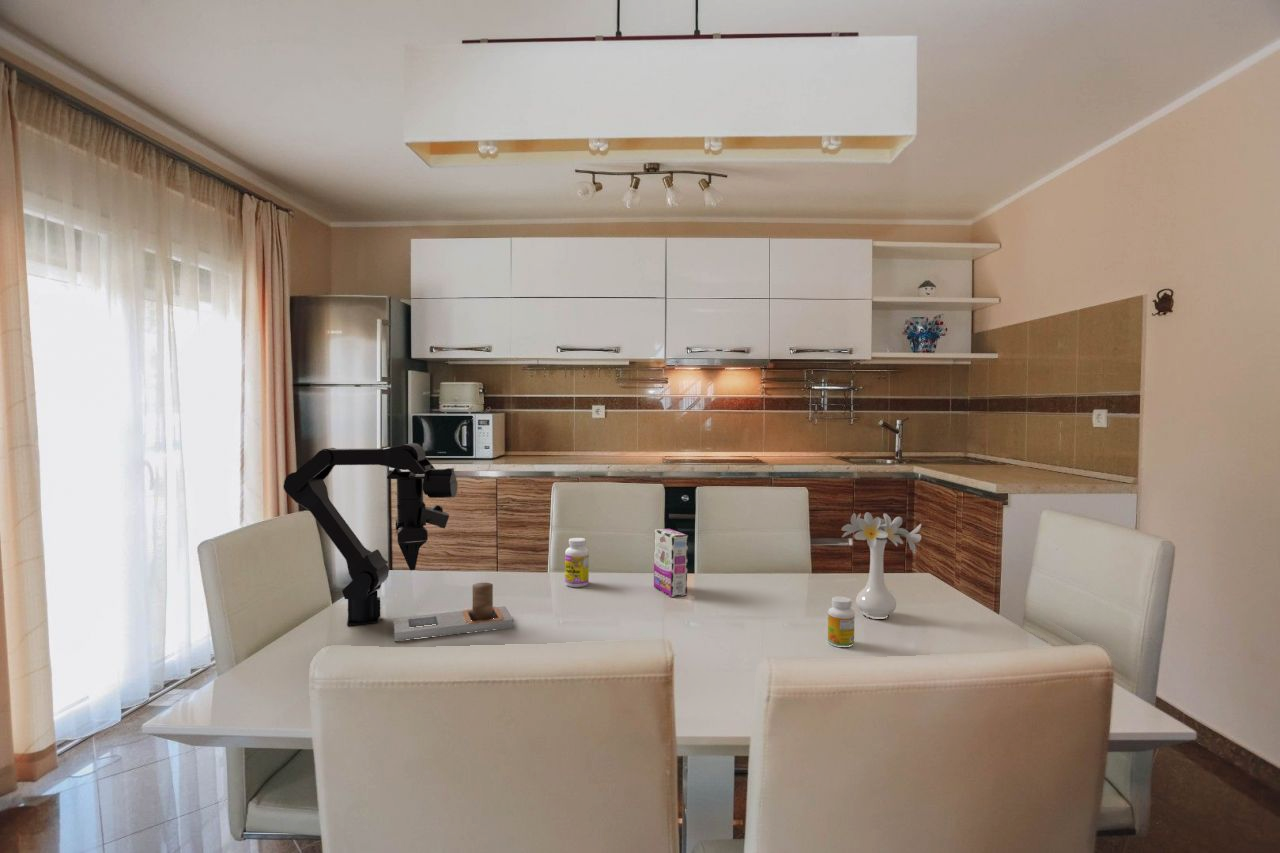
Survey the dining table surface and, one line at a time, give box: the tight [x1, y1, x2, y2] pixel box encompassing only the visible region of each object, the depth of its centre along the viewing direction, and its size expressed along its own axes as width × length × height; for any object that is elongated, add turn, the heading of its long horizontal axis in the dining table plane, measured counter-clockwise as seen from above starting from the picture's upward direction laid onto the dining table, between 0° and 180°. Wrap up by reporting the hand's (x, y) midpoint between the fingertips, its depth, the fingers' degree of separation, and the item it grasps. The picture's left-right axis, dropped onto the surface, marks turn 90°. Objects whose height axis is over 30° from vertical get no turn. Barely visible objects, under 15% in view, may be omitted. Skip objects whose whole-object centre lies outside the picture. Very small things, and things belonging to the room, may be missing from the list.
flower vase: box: [841, 511, 923, 617], centre depth 157 cm, size 13×18×25 cm
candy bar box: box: [653, 528, 689, 598], centre depth 176 cm, size 11×5×16 cm, turn 25°
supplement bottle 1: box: [564, 537, 590, 588], centre depth 181 cm, size 7×7×13 cm
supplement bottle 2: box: [827, 596, 855, 646], centre depth 138 cm, size 5×5×10 cm
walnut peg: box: [471, 582, 494, 621], centre depth 148 cm, size 4×4×9 cm
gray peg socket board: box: [393, 605, 514, 642], centre depth 146 cm, size 25×10×2 cm, turn 112°
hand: (411, 565), depth 149 cm, fingers open, 9 cm apart
